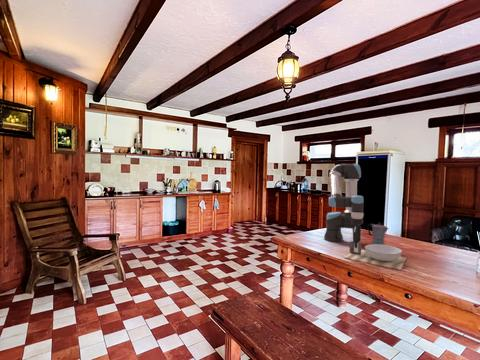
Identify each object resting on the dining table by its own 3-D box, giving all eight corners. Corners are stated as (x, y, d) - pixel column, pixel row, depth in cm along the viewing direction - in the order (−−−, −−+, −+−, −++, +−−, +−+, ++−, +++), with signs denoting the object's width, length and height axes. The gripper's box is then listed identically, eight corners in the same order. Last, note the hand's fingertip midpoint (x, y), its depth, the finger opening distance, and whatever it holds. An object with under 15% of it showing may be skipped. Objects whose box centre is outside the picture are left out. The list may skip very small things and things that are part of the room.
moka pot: (385, 252, 181) (385, 224, 180) (363, 247, 193) (364, 221, 192) (390, 249, 187) (391, 222, 186) (369, 245, 199) (369, 219, 198)
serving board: (344, 258, 169) (344, 245, 168) (355, 249, 188) (355, 237, 188) (400, 269, 148) (400, 255, 148) (406, 258, 168) (406, 245, 167)
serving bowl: (368, 251, 180) (369, 242, 180) (403, 258, 167) (403, 247, 166) (361, 259, 164) (361, 249, 164) (398, 267, 151) (399, 256, 150)
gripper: (360, 220, 167) (359, 255, 167) (365, 217, 178) (365, 250, 179) (348, 219, 171) (347, 253, 172) (354, 215, 183) (354, 248, 184)
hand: (356, 251), depth 176 cm, fingers closed on serving board, 2 cm apart
